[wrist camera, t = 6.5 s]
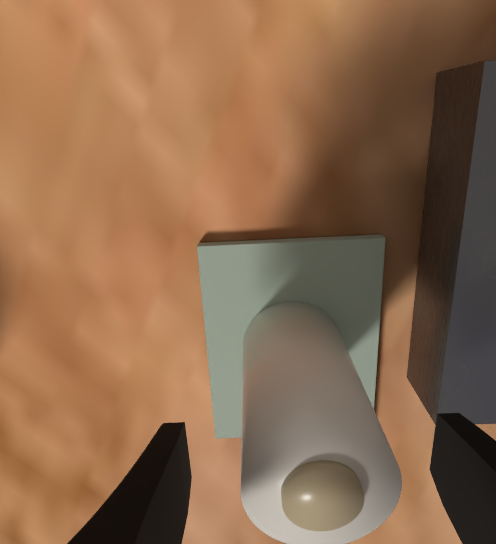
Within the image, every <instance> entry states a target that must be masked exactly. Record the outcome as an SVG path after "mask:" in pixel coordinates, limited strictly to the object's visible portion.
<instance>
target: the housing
mask: <svg viewBox="0 0 496 544" xmlns="http://www.w3.org/2000/svg"><path fill="white" fill-rule="evenodd" d="M407 378H408V380H409V382H410V383H411V385H412V387H413V388H414V390H415V392H416V393H417V395H418V397H419V398H420V400H421V402H422V403H423V405H424V407H425V408H426V410H427V412H428V413H429V415H430V417H431V418H432V420H433V422H434V423H435V425H436V419H437V414H438V413H460V414H461V415H463V416H464V417H466V418H467V419H468V420H470V421H471V422H472V423H473V424H495V423H496V60H492V61H482V62H478V63H474V64H470V65H466V66H462V67H458V68H454V69H450V70H446V71H443V72H439V73H437V78H436V88H435V98H434V108H433V119H432V129H431V139H430V149H429V159H428V169H427V179H426V189H425V200H424V210H423V220H422V230H421V240H420V250H419V260H418V270H417V280H416V291H415V301H414V311H413V321H412V331H411V341H410V351H409V361H408V371H407Z"/></svg>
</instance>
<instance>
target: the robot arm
mask: <svg viewBox="0 0 496 544" xmlns="http://www.w3.org/2000/svg"><path fill="white" fill-rule="evenodd" d="M430 471H431V474H432V477H433V480H434V482H435V485H436V488H437V491H438V493H439V496H440V498H441V501H442V503H443V506H444V508H445V510H446V512H447V514H448V516H449V518H450V520H451V522H452V524H453V526H454V528H455V530H456V532H457V534H458V536H459V538H460V540H461V542H462V543H463V544H496V441H495V440H494V439H493V438H491V437H490V436H489V435H488V434H486V433H485V432H484V431H482V430H481V429H480V428H479V427H477V426H476V425H475V424H473V423H472V422H471V421H470V420H468V419H467V418H466V417H464V416H463V415H461V414H460V413H438V414H437V419H436V427H435V434H434V442H433V449H432V456H431V464H430ZM191 478H192V476H191V468H190V460H189V453H188V445H187V437H186V429H185V422H181V423H163V424H162V425H161V426H160V428H159V429H158V431H157V432H156V434H155V435H154V437H153V438H152V440H151V441H150V443H149V444H148V446H147V447H146V449H145V450H144V452H143V453H142V454H141V456H140V457H139V459H138V460H137V462H136V463H135V464H134V466H133V467H132V468H131V470H130V471H129V472H128V474H127V475H126V476H125V478H124V479H123V480H122V482H121V483H120V484H119V485H118V487H117V488H116V489H115V490H114V492H113V493H112V494H111V495H110V496H109V498H108V499H107V500H106V501H105V502H104V504H103V505H102V506H101V507H100V509H99V510H98V511H97V512H96V513H95V514H94V515H93V517H92V518H91V519H90V520H89V521H88V522H87V523H86V524H85V525H84V527H83V528H82V529H81V530H80V531H79V532H78V533H77V534H76V535H75V536H74V537H73V538H72V539H71V540H70V541H69V542H68V543H67V544H181V543H182V538H183V534H184V529H185V524H186V519H187V515H188V506H189V498H190V488H191Z"/></svg>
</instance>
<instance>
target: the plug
mask: <svg viewBox="0 0 496 544" xmlns="http://www.w3.org/2000/svg"><path fill="white" fill-rule="evenodd" d="M401 488H402V479H401V473H400V469H399V466H398V464H397V461H396V459H395V457H394V455H393V452H392V450H391V448H390V446H389V443H388V441H387V439H386V436H385V434H384V432H383V430H382V427H381V425H380V423H379V421H378V418H377V416H376V414H375V411H374V409H373V407H372V405H371V402H370V400H369V398H368V396H367V393H366V391H365V389H364V386H363V384H362V382H361V380H360V377H359V375H358V373H357V371H356V368H355V366H354V364H353V361H352V359H351V357H350V355H349V352H348V350H347V348H346V346H345V343H344V341H343V339H342V336H341V334H340V332H339V330H338V328H337V326H336V324H335V322H334V321H333V319H332V318H331V317H330V316H329V315H328V314H327V313H326V312H325V311H323V310H322V309H320V308H318V307H316V306H314V305H312V304H308V303H304V302H295V301H291V302H283V303H279V304H276V305H273V306H271V307H268V308H266V309H265V310H263V311H262V312H260V313H259V314H258V315H257V316H256V317H255V318H254V319H253V320H252V321H251V323H250V324H249V326H248V328H247V330H246V332H245V335H244V339H243V365H242V441H241V498H242V503H243V506H244V509H245V511H246V513H247V515H248V517H249V518H250V519H251V521H252V522H253V523H254V524H255V525H256V526H257V527H258V528H259V529H260V530H261V531H263V532H264V533H265V534H267V535H269V536H270V537H272V538H274V539H276V540H279V541H281V542H284V543H287V544H346V543H349V542H352V541H355V540H357V539H359V538H361V537H363V536H366V535H367V534H369V533H370V532H372V531H374V530H375V529H376V528H377V527H379V526H380V525H381V524H382V523H383V522H384V521H385V520H386V519H387V518H388V517H389V516H390V514H391V513H392V512H393V510H394V508H395V507H396V505H397V503H398V500H399V498H400V493H401Z"/></svg>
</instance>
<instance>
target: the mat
mask: <svg viewBox="0 0 496 544" xmlns="http://www.w3.org/2000/svg"><path fill="white" fill-rule="evenodd" d="M197 251H198V261H199V271H200V282H201V292H202V303H203V313H204V323H205V334H206V344H207V354H208V365H209V375H210V385H211V396H212V406H213V416H214V427H215V437H216V438H238V437H242V365H243V339H244V335H245V332H246V330H247V328H248V326H249V324H250V323H251V321H252V320H253V319H254V318H255V317H256V316H257V315H258V314H259V313H260V312H262V311H263V310H265V309H266V308H268V307H271V306H273V305H276V304H279V303H283V302H291V301H295V302H304V303H308V304H312V305H314V306H316V307H318V308H320V309H322V310H323V311H325V312H326V313H327V314H328V315H329V316H330V317H331V318H332V319H333V321H334V322H335V324H336V326H337V328H338V330H339V332H340V334H341V336H342V339H343V341H344V343H345V346H346V348H347V350H348V352H349V355H350V357H351V359H352V361H353V364H354V366H355V368H356V371H357V373H358V375H359V377H360V380H361V382H362V384H363V386H364V389H365V391H366V393H367V396H368V398H369V400H370V402H371V405H372V407H373V409H374V400H375V385H376V370H377V356H378V341H379V326H380V312H381V297H382V282H383V268H384V253H385V237H384V236H383V235H382V234H379V235H357V236H335V237H313V238H291V239H270V240H248V241H226V242H204V243H198V246H197Z"/></svg>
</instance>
